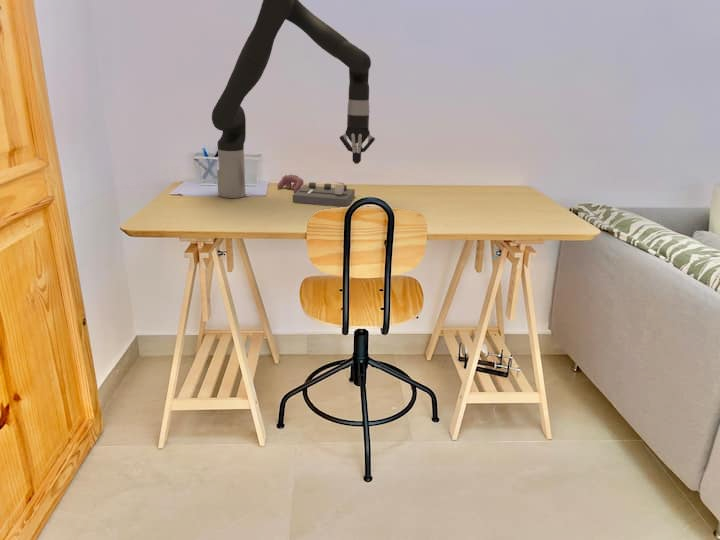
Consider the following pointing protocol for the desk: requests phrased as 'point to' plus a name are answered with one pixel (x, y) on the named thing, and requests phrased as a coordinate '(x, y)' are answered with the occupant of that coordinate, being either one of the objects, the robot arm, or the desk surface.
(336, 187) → the fader knob
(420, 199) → the desk surface
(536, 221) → the desk surface
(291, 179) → the maroon arched lump
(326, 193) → the console
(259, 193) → the desk surface
